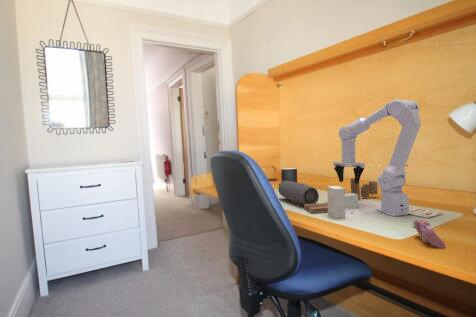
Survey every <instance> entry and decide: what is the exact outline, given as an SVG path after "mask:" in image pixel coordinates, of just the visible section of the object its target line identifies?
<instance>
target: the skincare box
mask: <svg viewBox="0 0 476 317" xmlns="http://www.w3.org/2000/svg"><path fill="white" fill-rule="evenodd" d="M345 194H346V188H345V187H344V188H343V187H341V186H339V185H332V186H331V185H329V186H327V203H328V213H327V215H328V216H329V217H330V218H333V219H335V220H340V219H346V214H345V213H346V209H345Z"/></svg>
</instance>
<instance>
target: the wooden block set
mask: <svg viewBox="0 0 476 317" xmlns="http://www.w3.org/2000/svg"><path fill="white" fill-rule="evenodd" d="M349 181H350V193H354V194H357V195H358V201H359V200H361V197H362V198H369V197H370V195H378V182H377V181H375V180H374V181H373V180H372V181H370V180H369V181H368V183H364V184H362V185H361V186H360V182H359V183H357V184H355V177H351V178H350V180H349ZM342 188H345V187H342Z"/></svg>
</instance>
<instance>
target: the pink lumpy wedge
mask: <svg viewBox="0 0 476 317" xmlns="http://www.w3.org/2000/svg"><path fill="white" fill-rule="evenodd" d="M412 228H413V229H414V230H416V232H417V234H418V236H419V238H420V239H421V240H422V241H423V242H424V243H425V244H431V245H432V246H433V247H434V248H438V249H445V248H446V243H445V242H444V241H443V240H442V239H441V237H440V236H439V235H438V234H437V233H436V231H435V230H434V228H433V227H432V225H431V223H430V222H429V221H427V220H424V219H416V220H413V225H412Z"/></svg>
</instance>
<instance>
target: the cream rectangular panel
mask: <svg viewBox="0 0 476 317" xmlns="http://www.w3.org/2000/svg"><path fill="white" fill-rule="evenodd" d="M355 214H356V213H354V212H352V211H350V212H349V211H348V212H345V215H355Z"/></svg>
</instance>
